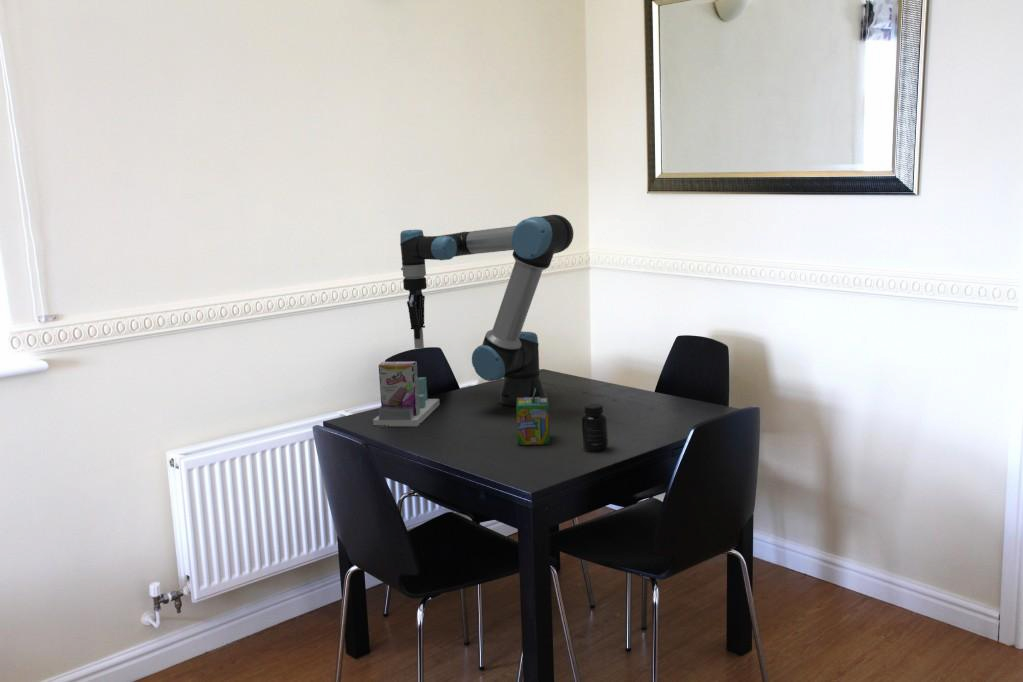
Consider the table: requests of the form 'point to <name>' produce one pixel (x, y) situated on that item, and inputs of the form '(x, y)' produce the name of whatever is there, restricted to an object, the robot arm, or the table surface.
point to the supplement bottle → (594, 429)
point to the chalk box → (533, 420)
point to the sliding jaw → (422, 391)
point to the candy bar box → (399, 384)
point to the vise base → (415, 420)
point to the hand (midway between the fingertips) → (419, 347)
